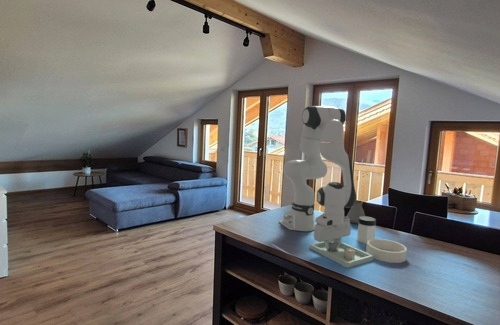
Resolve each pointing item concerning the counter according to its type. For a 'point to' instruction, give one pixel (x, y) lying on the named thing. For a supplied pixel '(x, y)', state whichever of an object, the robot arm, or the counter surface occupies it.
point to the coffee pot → (356, 212)
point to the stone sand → (349, 254)
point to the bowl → (386, 250)
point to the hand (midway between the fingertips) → (332, 247)
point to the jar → (366, 229)
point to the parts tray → (342, 254)
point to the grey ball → (332, 246)
